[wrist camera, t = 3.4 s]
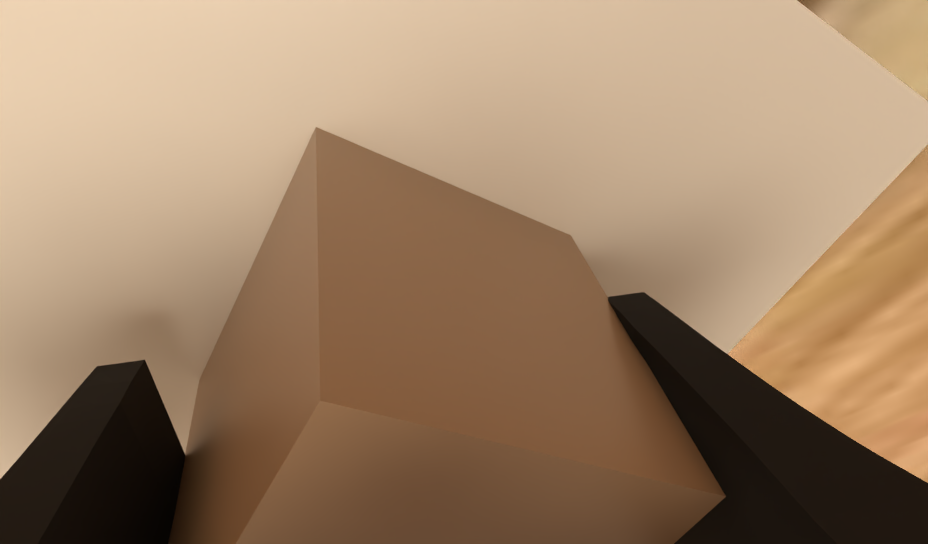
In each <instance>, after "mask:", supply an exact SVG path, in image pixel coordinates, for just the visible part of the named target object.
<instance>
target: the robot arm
mask: <svg viewBox="0 0 928 544" xmlns="http://www.w3.org/2000/svg"><path fill="white" fill-rule="evenodd" d="M608 302H609V303H610V305H611V307H612V308H613V310H614V312H615V313H616V315H617V317H618V318H619V320H620V322H621V324H622V325H623V327H624V329H625V330H626V332H627V334H628V335H629V337H630V339H631V340H632V342H633V344H634V345H635V347H636V348H637V350H638V351H639V352H640V354H641V355H642V357H643V358H644V360H645V361H646V363H647V364H648V366H649V368H650V369H651V371H652V373H653V374H654V376H655V378H656V379H657V381H658V383H659V385H660V386H661V388H662V390H663V391H664V393H665V395H666V396H667V398H668V400H669V401H670V403H671V405H672V406H673V408H674V410H675V411H676V413H677V415H678V416H679V418H680V420H681V422H682V423H683V425H684V427H685V428H686V430H687V432H688V433H689V435H690V437H691V438H692V440H693V442H694V443H695V445H696V447H697V448H698V450H699V452H700V454H701V455H702V457H703V459H704V460H705V462H706V464H707V465H708V467H709V469H710V470H711V472H712V474H713V475H714V477H715V479H716V480H717V482H718V484H719V485H720V487H721V489H722V491H723V492H724V494H725V496H726V497H725V498H724V499H723V500H722V501H721V502H720V503H718V504H717V505H716V506H715V507H714V508H713V509H712V510H711V511H710V512H708V513H707V514H706V515H705V516H704V517H703V518H702V519H701V520H700V521H699V522H697V523H696V524H695V525H694V526H693V527H692V528H691V529H690V530H689V531H687V532H686V533H685V534H684V535H683V536H682V537H681V538H680V539H679V540H678V541H676V542H675V543H674V544H928V483H927V482H925V481H923V480H921V479H920V478H918V477H916V476H914V475H913V474H911V473H909V472H907V471H906V470H904V469H902V468H900V467H898V466H897V465H895V464H893V463H891V462H890V461H888V460H886V459H884V458H883V457H881V456H879V455H877V454H876V453H874V452H872V451H871V450H869V449H867V448H866V447H864V446H862V445H861V444H859V443H857V442H856V441H854V440H853V439H851V438H849V437H848V436H846V435H845V434H843V433H841V432H840V431H838V430H837V429H835V428H834V427H832V426H831V425H829V424H828V423H826V422H824V421H823V420H821V419H820V418H818V417H817V416H815V415H814V414H812V413H811V412H809V411H807V410H806V409H804V408H803V407H801V406H800V405H798V404H797V403H795V402H794V401H792V400H791V399H790V398H788V397H787V396H785V395H784V394H782V393H781V392H779V391H778V390H776V389H775V388H774V387H772V386H771V385H769V384H768V383H766V382H765V381H764V380H762V379H761V378H759V377H758V376H757V375H755V374H754V373H752V372H751V371H750V370H748V369H747V368H745V367H744V366H743V365H741V364H740V363H738V362H737V361H736V360H734V359H733V358H732V357H730V356H729V355H728V354H726V353H725V352H724V351H722V350H721V349H720V348H718V347H717V346H716V345H714V344H713V343H712V342H710V341H709V340H708V339H706V338H705V337H704V336H702V335H701V334H700V333H698V332H697V331H696V330H694V329H693V328H692V327H690V326H689V325H688V324H686V323H685V322H684V321H682V320H681V319H680V318H678V317H677V316H676V315H674V314H673V313H672V312H670V311H669V310H668V309H666V308H665V307H664V306H662V305H661V304H660V303H658V302H657V301H656V300H654V299H653V298H651V297H650V296H649V295H647V294H646V293H644V292H640V293H632V294H625V295H618V296H610V297H608ZM185 457H186V455H185V453H184V451H183V448H182V446H181V444H180V441H179V439H178V436H177V434H176V432H175V429H174V427H173V425H172V422H171V420H170V418H169V415H168V413H167V411H166V408H165V406H164V403H163V401H162V399H161V396H160V394H159V392H158V389H157V387H156V385H155V382H154V380H153V377H152V375H151V373H150V370H149V368H148V366H147V363H146V361H145V360H139V361H132V362H124V363H117V364H110V365H102V366H97V367H96V368H95V369H94V370H93V371H92V372H91V373H90V375H89V376H88V377H87V378H86V379H85V380H84V381H83V383H82V384H81V385H80V386H79V387H78V389H77V390H76V391H75V392H74V393H73V394H72V396H71V397H70V398H69V399H68V400H67V401H66V403H65V404H64V405H63V406H62V407H61V409H60V410H59V411H58V412H57V413H56V414H55V416H54V417H53V418H52V419H51V420H50V422H49V423H48V424H47V425H46V426H45V428H44V429H43V430H42V431H41V432H40V433H39V435H38V436H37V437H36V438H35V439H34V441H33V442H32V443H31V444H30V445H29V446H28V448H27V449H26V450H25V451H24V452H23V454H22V455H21V456H20V457H19V458H18V459H17V461H16V462H15V463H14V464H13V465H12V466H11V467H10V469H9V470H8V471H7V472H6V473H5V474H4V475H3V477H2V478H1V479H0V544H168V542H169V537H170V533H171V528H172V524H173V519H174V515H175V509H176V504H177V499H178V494H179V488H180V483H181V478H182V472H183V467H184V462H185Z"/></svg>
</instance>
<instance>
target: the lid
mask: <svg viewBox="0 0 928 544" xmlns="http://www.w3.org/2000/svg"><path fill="white" fill-rule="evenodd" d="M927 145H928V101H927V100H926V99H924V98H923V97H922V96H921V95H919V94H918V93H917V92H915V91H914V90H913V89H911V88H910V87H909V86H908V85H906V84H905V83H904V82H902V81H901V80H900V79H899V78H897V77H896V76H895V75H893V74H892V73H891V72H889V71H888V70H887V69H886V68H884V67H883V66H882V65H880V64H879V63H878V62H876V61H875V60H874V59H873V58H871V57H870V56H869V55H867V54H866V53H865V52H863V51H862V50H861V49H860V48H858V47H857V46H856V45H854V44H853V43H852V42H850V41H849V40H848V39H847V38H845V37H844V36H843V35H841V34H840V33H839V32H837V31H836V30H835V29H834V28H832V27H831V26H830V25H828V24H827V23H826V22H825V21H823V20H822V19H821V18H819V17H818V16H817V15H815V14H814V13H813V12H812V11H810V10H809V9H808V8H806V7H805V6H804V5H802V4H801V3H800V2H799V1H797V0H0V479H1V478H2V477H3V475H4V474H5V473H6V472H7V471H8V470H9V469H10V467H11V466H12V465H13V464H14V463H15V462H16V461H17V459H18V458H19V457H20V456H21V455H22V454H23V452H24V451H25V450H26V449H27V448H28V446H29V445H30V444H31V443H32V442H33V441H34V439H35V438H36V437H37V436H38V435H39V433H40V432H41V431H42V430H43V429H44V428H45V426H46V425H47V424H48V423H49V422H50V420H51V419H52V418H53V417H54V416H55V414H56V413H57V412H58V411H59V410H60V409H61V407H62V406H63V405H64V404H65V403H66V401H67V400H68V399H69V398H70V397H71V396H72V394H73V393H74V392H75V391H76V390H77V389H78V387H79V386H80V385H81V384H82V383H83V381H84V380H85V379H86V378H87V377H88V376H89V375H90V373H91V372H92V371H93V370H94V369H95V368H96V367H97V366H102V365H110V364H117V363H124V362H132V361H139V360H145V361H146V363H147V366H148V368H149V370H150V373H151V375H152V377H153V380H154V382H155V385H156V387H157V389H158V392H159V394H160V396H161V399H162V401H163V403H164V406H165V408H166V411H167V413H168V415H169V418H170V420H171V422H172V425H173V427H174V429H175V432H176V434H177V436H178V439H179V441H180V444H181V446H182V448H183V451H184V453H185V455H186V457H185V462H184V467H183V472H182V478H181V483H180V488H179V494H178V499H177V504H176V509H175V515H174V519H173V524H172V528H171V533H170V537H169V542H168V544H674V543H675V542H676V541H678V540H679V539H680V538H681V537H682V536H683V535H684V534H685V533H686V532H687V531H689V530H690V529H691V528H692V527H693V526H694V525H695V524H696V523H697V522H699V521H700V520H701V519H702V518H703V517H704V516H705V515H706V514H707V513H708V512H710V511H711V510H712V509H713V508H714V507H715V506H716V505H717V504H718V503H720V502H721V501H722V500H723V499H724V498H725V497H726V496H725V494H724V492H723V491H722V489H721V487H720V485H719V484H718V482H717V480H716V479H715V477H714V475H713V474H712V472H711V470H710V469H709V467H708V465H707V464H706V462H705V460H704V459H703V457H702V455H701V454H700V452H699V450H698V448H697V447H696V445H695V443H694V442H693V440H692V438H691V437H690V435H689V433H688V432H687V430H686V428H685V427H684V425H683V423H682V422H681V420H680V418H679V416H678V415H677V413H676V411H675V410H674V408H673V406H672V405H671V403H670V401H669V400H668V398H667V396H666V395H665V393H664V391H663V390H662V388H661V386H660V385H659V383H658V381H657V379H656V378H655V376H654V374H653V373H652V371H651V369H650V368H649V366H648V364H647V363H646V361H645V360H644V358H643V357H642V355H641V354H640V352H639V351H638V350H637V348H636V347H635V345H634V344H633V342H632V340H631V339H630V337H629V335H628V334H627V332H626V330H625V329H624V327H623V325H622V324H621V322H620V320H619V318H618V317H617V315H616V313H615V312H614V310H613V308H612V307H611V305H610V303H609V302H608V297H610V296H618V295H625V294H632V293H640V292H644V293H646V294H647V295H649V296H650V297H651V298H653V299H654V300H656V301H657V302H658V303H660V304H661V305H662V306H664V307H665V308H666V309H668V310H669V311H670V312H672V313H673V314H674V315H676V316H677V317H678V318H680V319H681V320H682V321H684V322H685V323H686V324H688V325H689V326H690V327H692V328H693V329H694V330H696V331H697V332H698V333H700V334H701V335H702V336H704V337H705V338H706V339H708V340H709V341H710V342H712V343H713V344H714V345H716V346H717V347H718V348H720V349H721V350H722V351H724V352H725V353H726V354H728V353H729V352H730V351H731V350H732V349H733V348H734V347H735V346H736V345H737V344H738V342H739V341H740V340H741V339H742V338H743V337H744V336H745V335H746V334H747V333H748V332H749V331H750V330H751V329H752V328H753V327H754V326H755V325H756V324H757V323H758V322H759V321H760V319H761V318H762V317H763V316H764V315H765V314H766V313H767V312H768V311H769V310H770V309H771V308H772V307H773V306H774V305H775V304H776V303H777V302H778V301H779V300H780V299H781V298H782V296H783V295H784V294H785V293H786V292H787V291H788V290H789V289H790V288H791V287H792V286H793V285H794V284H795V283H796V282H797V281H798V280H799V279H800V278H801V277H802V276H803V275H804V273H805V272H806V271H807V270H808V269H809V268H810V267H811V266H812V265H813V264H814V263H815V262H816V261H817V260H818V259H819V258H820V257H821V256H822V255H823V254H824V253H825V251H826V250H827V249H828V248H829V247H830V246H831V245H832V244H833V243H834V242H835V241H836V240H837V239H838V238H839V237H840V236H841V235H842V234H843V233H844V232H845V231H846V230H847V228H848V227H849V226H850V225H851V224H852V223H853V222H854V221H855V220H856V219H857V218H858V217H859V216H860V215H861V214H862V213H863V212H864V211H865V210H866V209H867V208H868V207H869V205H870V204H871V203H872V202H873V201H874V200H875V199H876V198H877V197H878V196H879V195H880V194H881V193H882V192H883V191H884V190H885V189H886V188H887V187H888V186H889V185H890V183H891V182H892V181H893V180H894V179H895V178H896V177H897V176H898V175H899V174H900V173H901V172H902V171H903V170H904V169H905V168H906V167H907V166H908V165H909V164H910V163H911V162H912V160H913V159H914V158H915V157H916V156H917V155H918V154H919V153H920V152H921V151H922V150H923V149H924V148H925V147H926V146H927Z"/></svg>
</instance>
